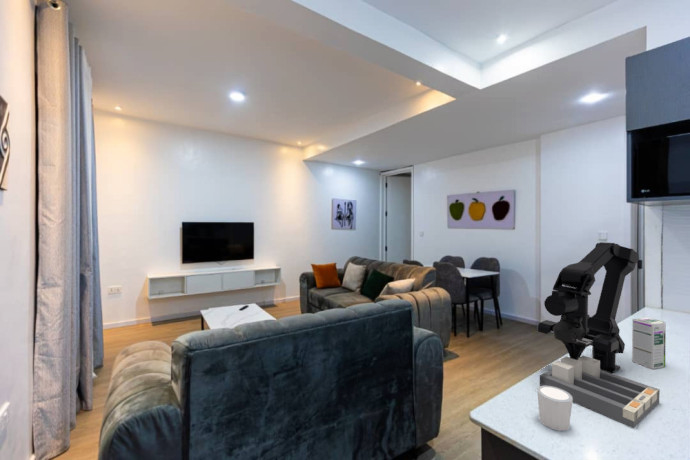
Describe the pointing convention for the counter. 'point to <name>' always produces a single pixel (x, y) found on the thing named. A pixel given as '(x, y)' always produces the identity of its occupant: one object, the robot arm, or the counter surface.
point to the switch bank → (609, 395)
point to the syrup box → (648, 342)
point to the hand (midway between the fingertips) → (574, 363)
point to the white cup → (554, 407)
